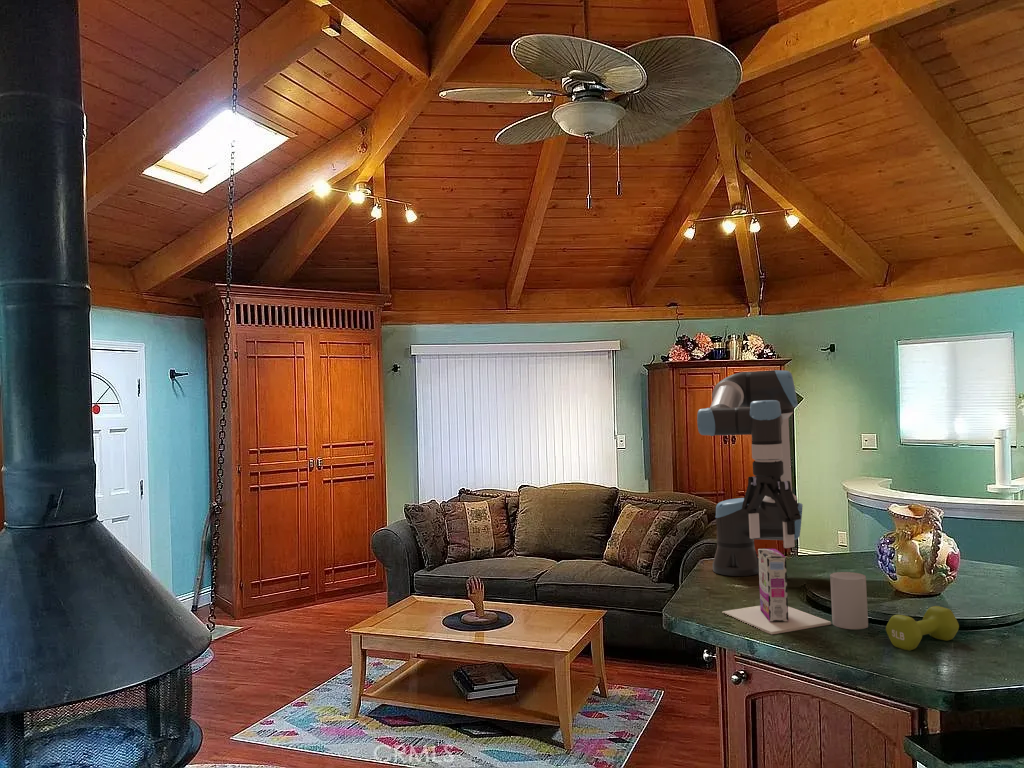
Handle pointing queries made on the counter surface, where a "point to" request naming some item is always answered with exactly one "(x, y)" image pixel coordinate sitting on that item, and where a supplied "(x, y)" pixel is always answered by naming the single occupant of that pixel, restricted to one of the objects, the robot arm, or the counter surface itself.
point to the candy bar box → (773, 585)
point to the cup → (849, 600)
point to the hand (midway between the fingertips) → (771, 542)
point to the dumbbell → (922, 627)
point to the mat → (795, 622)
